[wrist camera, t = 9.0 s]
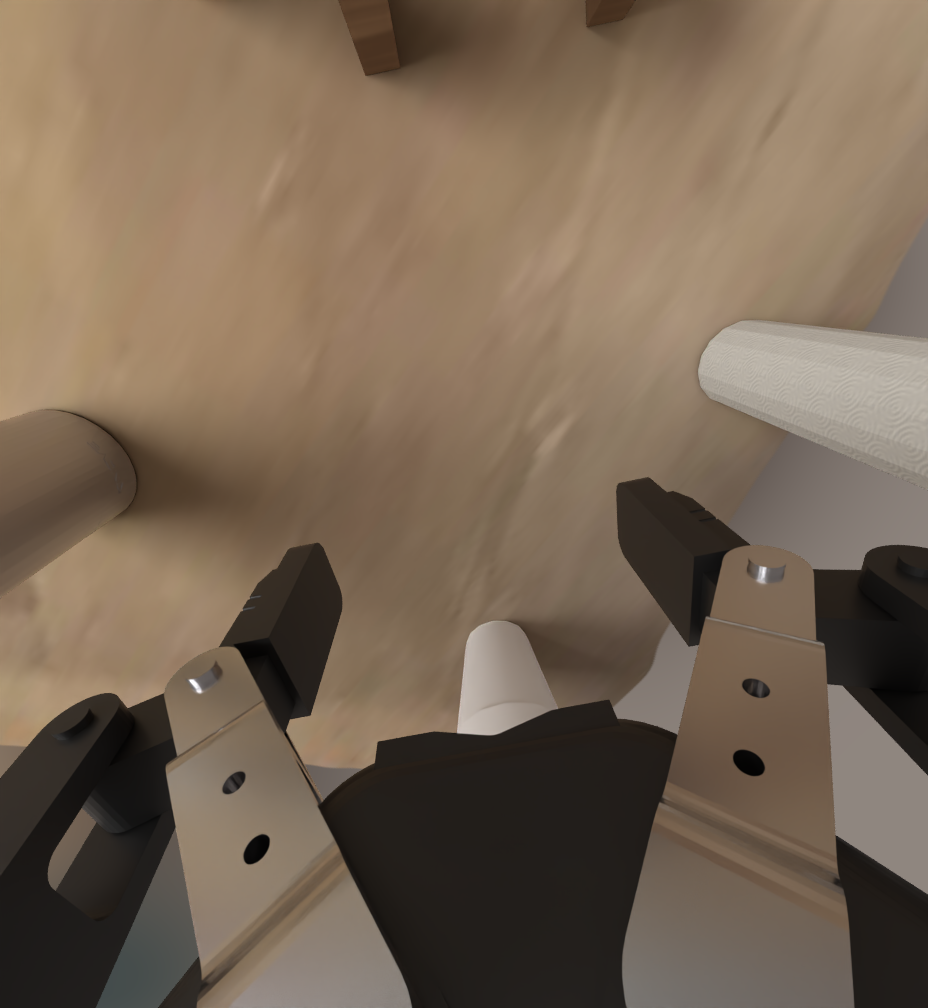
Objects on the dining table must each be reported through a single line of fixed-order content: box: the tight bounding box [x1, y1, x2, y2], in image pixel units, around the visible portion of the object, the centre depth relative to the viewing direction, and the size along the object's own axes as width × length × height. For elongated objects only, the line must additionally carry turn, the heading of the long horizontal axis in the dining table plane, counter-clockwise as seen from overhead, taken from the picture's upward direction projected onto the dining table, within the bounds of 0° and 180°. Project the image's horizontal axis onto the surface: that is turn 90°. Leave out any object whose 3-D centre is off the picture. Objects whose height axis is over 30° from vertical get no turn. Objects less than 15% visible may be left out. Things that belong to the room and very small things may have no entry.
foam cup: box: [457, 621, 558, 735], centre depth 39 cm, size 10×9×13 cm
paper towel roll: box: [698, 320, 928, 490], centre depth 23 cm, size 7×6×21 cm
